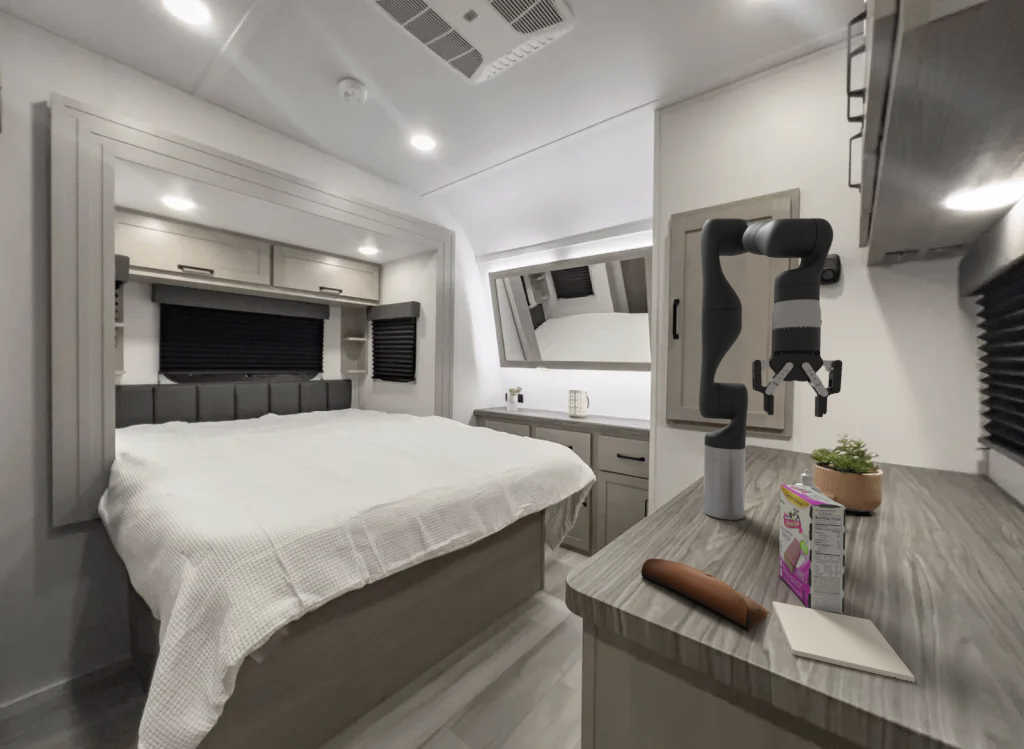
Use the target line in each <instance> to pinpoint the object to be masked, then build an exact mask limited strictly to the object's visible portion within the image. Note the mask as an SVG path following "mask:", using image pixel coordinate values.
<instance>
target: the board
mask: <svg viewBox="0 0 1024 749" xmlns="http://www.w3.org/2000/svg"><path fill="white" fill-rule="evenodd" d="M772 606H773V609H774V612H775V615H776V617H777V620H778V622H779V625H780V627H781V630H782V632H783V635H784V636H785V640H786V642H787V645H788V647H789V650H790V652H791V654H792V655H794V656H799V657H803V658H808V659H812V660H815V661H820V662H823V663H828V664H829V663H830V664H833V665H838V666H842V667H846V668H851V669H856V670H859V671H864V672H868V673H873V674H877V675H879V676H884V677H889V676H890V678H893V677H896V678H895V679H897V680H903V681H906V680H907V682H911V681H912V683H915V682H916V680H915V676H914V674H913V672H911V671H910V670H909V668H908V667H907V666H906V664H905V663H904V662H903V660H902V659H901V658H900V657H899V655H898V654H897V652H896V651H895V650H894V649H893V647H892V646H891V644H889V642H888V641H887V640H886V638H885V637H884V636H883V634H882V633H881V632H880V630H879V629H878V628H877V627H876V625H875V624H874V623H873V622H872V621H871V620H872V619H871V620H870V619H866V618H860V617H856V616H851V615H846V614H836V613H831V612H826V611H821V610H816V609H810V608H807V607H804V606H800V605H793V604H788V603H784V602H783V603H782V602H779V601H774V600H773V601H772Z"/></svg>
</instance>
